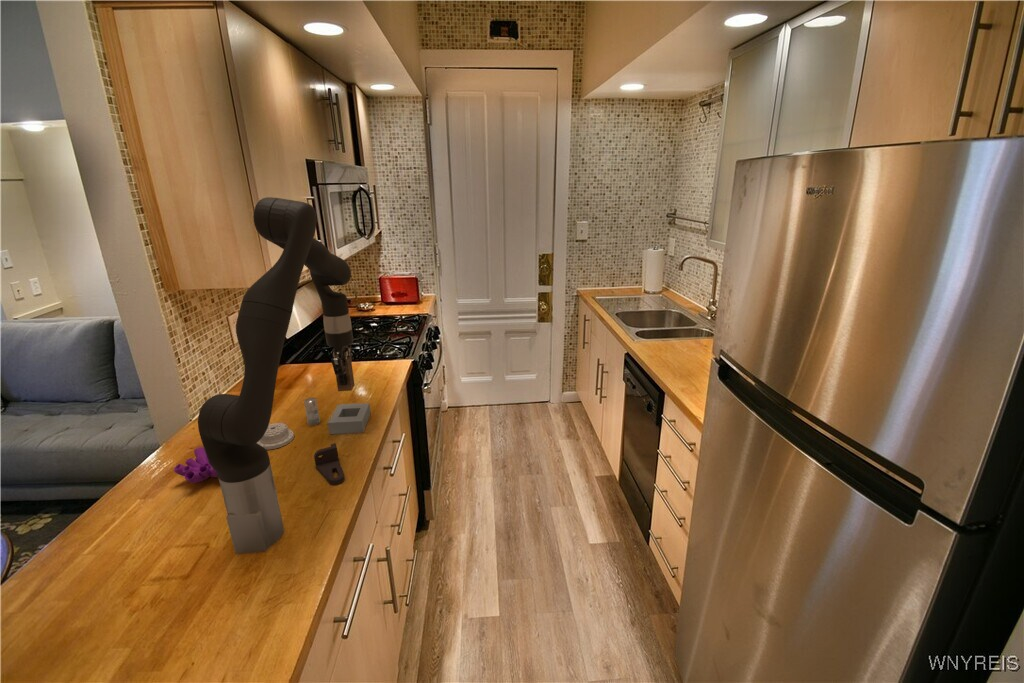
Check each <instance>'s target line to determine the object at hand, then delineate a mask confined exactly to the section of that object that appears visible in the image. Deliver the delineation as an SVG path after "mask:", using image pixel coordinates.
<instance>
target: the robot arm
mask: <svg viewBox="0 0 1024 683" xmlns="http://www.w3.org/2000/svg"><path fill="white" fill-rule="evenodd" d="M252 215H253V216H252V218H253V223H254V228H255V229H256V231H257V233H258V234H259V235H260V237H262V238H263V239H265V240H266V241H268V242H269V243H270V242H271V243H272V244H274V245H276V246H277V247H279V248H281V249H282V253H281V255H280V257H279V258H278V260H277V261H276V262H275V263H274V265H273V266H271V267H270V269H269V270H268V271H266V272H265V273H263V275H261V277H259V278H258V279H257V280H256V281H255V282H254V283H253V284H252V285H251V286H250V287H249V288H248V289H247V291H246V292H245V293H244V295H243V297H242V299H241V300H242V301H241V304H240V307H239V310H238V314H237V315H238V316H237V318H236V324H235V333H236V338H237V342H238V346H239V348H240V352H241V355H242V360H243V365H244V372H243V373H244V374H243V381H242V385H241V390H240V393H239V395H238V394H237V395H236V394H229V393H218V394H216V395H213V396H211V397H209V398H208V399H207V400H206V401H205V402H204V403H203V404H202V406H201V408H200V410H199V413H198V418H197V428H198V434H199V438H200V440H201V442H202V447H204V449H205V452H206V455H207V458H208V461H209V463H210V465H211V466H212V468H213V469H214V470H215V471H216V472H217V475H218V477H217V478H218V482H219V486H220V490H221V493H222V497H223V501H224V505H225V506H224V507H225V509H226V514H227V515H226V522H227V526H228V530H229V534H230V537H231V541H232V544H233V545H232V546H233V548H234V553H235V554H236V555H238V554H240V555H241V554H251V553H263V552H264V553H265V552H267V551H268V550H269V548H271V546H273V545H275V544H276V543H277V542H278V541H279V540H281V538H282V536H283V534H284V531H285V527H284V523H283V518H282V513H281V508H280V503H279V499H278V493H277V489H276V485H275V479H274V475H273V469H272V464H271V461H270V460H271V459H270V455H269V452H268V450H266V449H265V448H264V447H262V446H261V445H259V444H258V443H257V442H258V441H259V440H260V439H261V438H262V437H263V436H264V434H265V432H266V430H267V428H268V425H270V422H271V419H272V418H271V417H272V412H273V406H274V405H273V404H274V400H275V399H274V397H275V390H276V383H277V377H278V371H279V366H280V361H281V357H282V352H283V349H284V344H285V341H286V336H287V333H288V330H289V326H290V323H291V320H292V318H291V317H292V314H293V309H294V304H295V299H296V295H297V292H298V288H299V284H300V280H301V276H302V273H303V270H304V267H306V268H307V269H308V270H309V274H310V275H309V276H310V278H311V280H312V283H313V285H314V288H315V289H316V292H317V294H318V296H319V298H320V301H321V302H320V303H321V308H322V316H323V327H324V328H323V329H324V333H325V340H326V345H327V346H328V347H330V348H332V349H333V351H332V358H331V359H330V362H331V365H332V369H333V371H334V374H335V376H336V375H338V377H339V384H340V385H347V375H346V366H347V356H350V355H351V356H352V344H353V343H354V336H353V335H354V334H353V328H352V327H353V326H352V320H351V316H350V311H349V310H350V309H349V304H348V297H347V295H346V294H345V293H342V292H340V291H339V292H338V291H335V290H332V289H331V288H330V287H331V286H345V285H347V284H348V283H349V282H350V281H351V278H352V271H351V268H350V266H349V264H348V262H346V260H344V259H343V258H341V257H339V256H337V255H336V254H333V253H331V251H330V250H329V249H328V248H327V246H326V245H324V244H323V242H321V241H319V239H317V238H315V234H316V230H317V221H318V220H317V217H318V216H317V213H316V210H315V208H314V206H313V205H311V204H310V203H307V202H304V201H301V200H300V201H299V200H293V199H285V198H281V197H272V196H270V197H263V198H261V199H260V200H258V202H257V203H256V204H255V207H254V210H253V214H252ZM342 362H344V364H342ZM351 362H353V361H352V357H351ZM339 369H341V370H339Z"/></svg>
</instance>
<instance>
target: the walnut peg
mask: <svg viewBox="0 0 1024 683" xmlns="http://www.w3.org/2000/svg"><path fill="white" fill-rule="evenodd" d="M351 358H352V354H351V355H350V356H347V366H346V375H347V385H340V384H339V377H338V375H335V379H336V387H337V392H348V391H349V392H350V391H351V392H352V391H353V389H354V387H355V379H354V370H353V363H352V362H353V361H352V362H351ZM342 364H344V362H342ZM339 370H341V369H339Z"/></svg>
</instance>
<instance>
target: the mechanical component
mask: <svg viewBox="0 0 1024 683" xmlns="http://www.w3.org/2000/svg"><path fill="white" fill-rule="evenodd" d="M294 438H295V436H294V432H293V430H291V429H290V428H289V429H288V425H287V424H285V423H284V422H276V423H270V424H269V425H268V428H267V430H266V432H265V434H264V436H263V437H262V438H261V439H260V440H259V441H258V442H257V443H258V444H259V445H261V446H262V447H264V448H265V449H266V450H267V451H268V450H269V451H271V450H275V449H278V448H281V447H284V446H286V445H288V444H290V443H291V442H292V441H293V440H294Z"/></svg>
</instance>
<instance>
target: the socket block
mask: <svg viewBox="0 0 1024 683" xmlns="http://www.w3.org/2000/svg"><path fill="white" fill-rule="evenodd" d="M371 415H372V414H371V404H370V402H367V403H366V402H365V403H362V402H361V403H343V404H342V403H341V404H338V405H337V406H336V407H335V410H333V413H332V415H331V417H330V418H329V419H328V422H327V427H328V434H329V435H341V434H343V435H345V434H362V433H364V432H365V430H366V427H367V425H368V422H369V420H370V416H371Z"/></svg>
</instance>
